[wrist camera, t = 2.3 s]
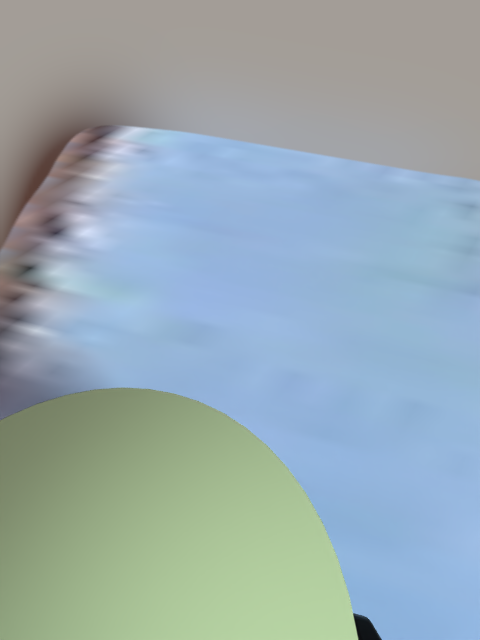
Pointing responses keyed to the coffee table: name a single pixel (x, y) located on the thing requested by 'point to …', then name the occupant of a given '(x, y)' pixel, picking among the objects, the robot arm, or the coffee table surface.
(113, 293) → the coffee table surface
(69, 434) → the green rounded tapered cylinder
